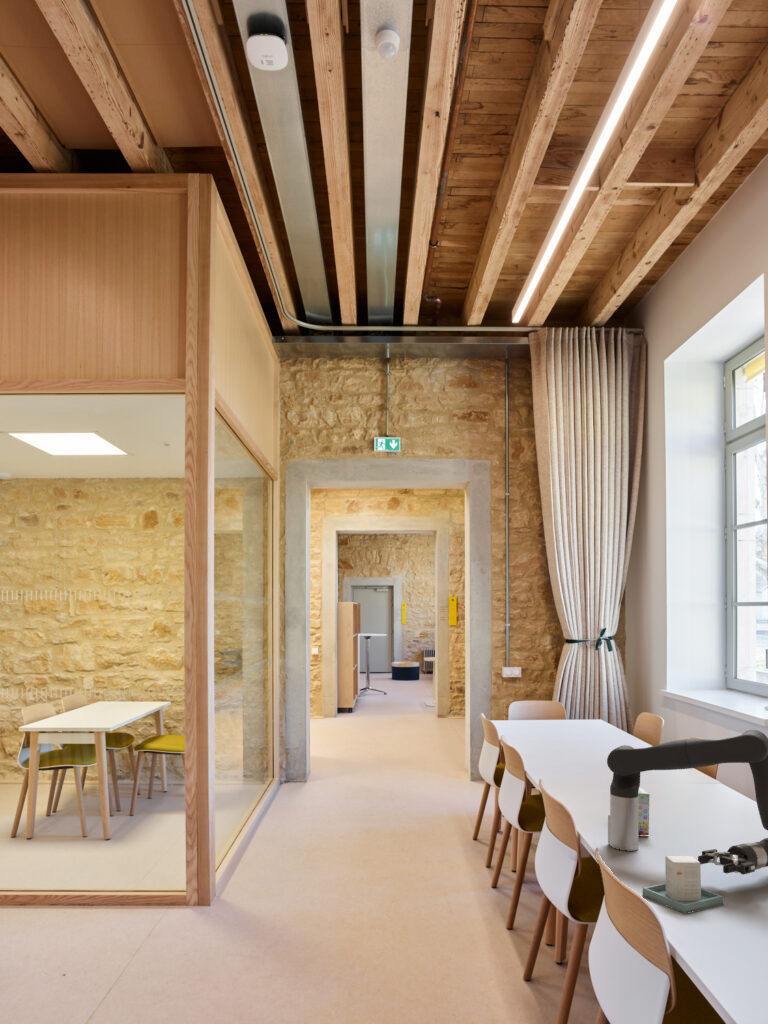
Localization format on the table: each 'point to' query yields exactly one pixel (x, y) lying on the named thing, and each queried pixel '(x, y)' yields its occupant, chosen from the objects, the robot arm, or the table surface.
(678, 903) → the tray
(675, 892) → the small box
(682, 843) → the table surface
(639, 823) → the snack box
